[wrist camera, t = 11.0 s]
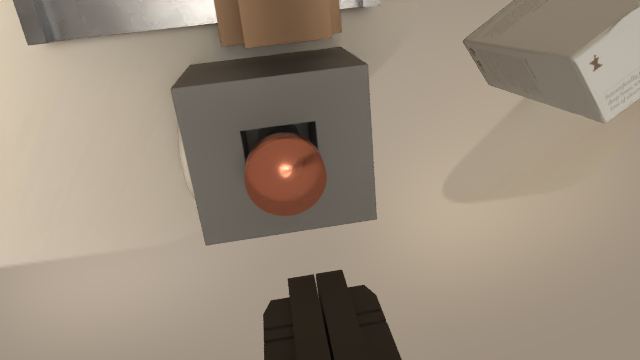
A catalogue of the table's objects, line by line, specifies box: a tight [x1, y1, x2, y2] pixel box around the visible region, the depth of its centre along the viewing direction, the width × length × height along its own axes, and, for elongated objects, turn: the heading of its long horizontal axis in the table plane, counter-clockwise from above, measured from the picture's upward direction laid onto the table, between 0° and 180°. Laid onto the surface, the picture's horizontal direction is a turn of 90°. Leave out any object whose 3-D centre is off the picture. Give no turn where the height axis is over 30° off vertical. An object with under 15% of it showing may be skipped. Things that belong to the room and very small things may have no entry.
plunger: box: [244, 124, 327, 216], centre depth 26 cm, size 4×4×7 cm
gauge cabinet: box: [171, 47, 377, 245], centre depth 29 cm, size 10×9×8 cm
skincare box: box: [463, 0, 640, 123], centre depth 27 cm, size 6×4×12 cm
